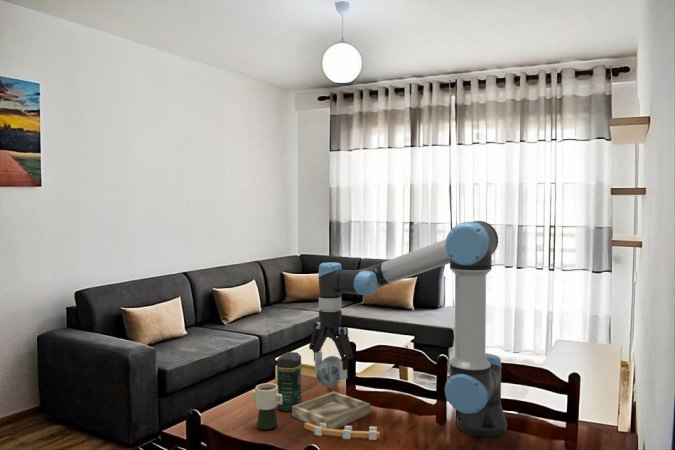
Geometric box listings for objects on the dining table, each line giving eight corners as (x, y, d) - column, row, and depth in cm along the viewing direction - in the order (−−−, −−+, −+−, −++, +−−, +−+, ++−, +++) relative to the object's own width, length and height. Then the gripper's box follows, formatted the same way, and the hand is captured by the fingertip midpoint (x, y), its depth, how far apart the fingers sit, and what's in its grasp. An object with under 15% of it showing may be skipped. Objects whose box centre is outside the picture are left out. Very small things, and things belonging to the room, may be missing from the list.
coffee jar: (297, 412, 181) (296, 358, 180) (274, 411, 182) (273, 357, 182) (304, 402, 190) (303, 350, 190) (282, 401, 192) (282, 349, 191)
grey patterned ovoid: (343, 381, 169) (331, 351, 172) (317, 393, 171) (305, 363, 174) (355, 378, 182) (343, 350, 185) (330, 389, 183) (319, 362, 187)
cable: (380, 436, 162) (380, 431, 162) (377, 441, 158) (377, 437, 158) (305, 426, 170) (305, 422, 169) (301, 431, 166) (301, 427, 166)
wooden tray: (370, 414, 179) (370, 403, 179) (328, 431, 165) (328, 420, 165) (333, 401, 191) (333, 391, 191) (292, 416, 177) (291, 406, 177)
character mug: (288, 425, 171) (287, 385, 170) (277, 434, 164) (276, 392, 163) (258, 420, 175) (257, 381, 174) (246, 429, 168) (245, 388, 168)
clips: (378, 434, 163) (378, 426, 163) (376, 441, 158) (375, 433, 158) (317, 429, 167) (317, 422, 167) (313, 436, 162) (313, 428, 162)
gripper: (364, 312, 171) (364, 380, 172) (314, 303, 188) (314, 365, 189) (348, 316, 166) (348, 386, 167) (298, 306, 182) (298, 370, 183)
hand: (330, 375), depth 178 cm, fingers closed on grey patterned ovoid, 11 cm apart
